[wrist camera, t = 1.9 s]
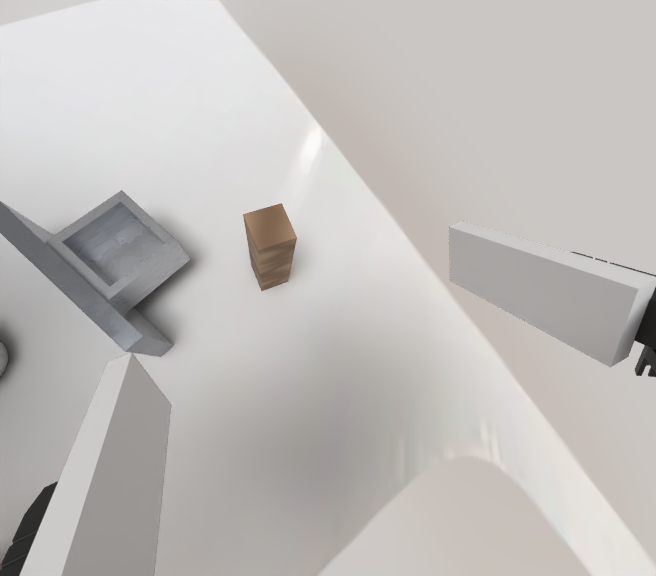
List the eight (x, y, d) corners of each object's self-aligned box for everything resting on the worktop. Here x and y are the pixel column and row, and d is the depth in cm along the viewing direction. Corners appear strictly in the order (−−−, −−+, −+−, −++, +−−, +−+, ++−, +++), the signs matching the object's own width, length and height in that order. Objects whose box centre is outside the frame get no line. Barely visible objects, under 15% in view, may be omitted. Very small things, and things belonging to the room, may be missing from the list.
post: (261, 291, 43) (257, 250, 28) (251, 266, 43) (243, 214, 29) (287, 281, 44) (296, 237, 29) (277, 257, 44) (281, 203, 30)
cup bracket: (50, 252, 39) (-21, 213, 29) (123, 201, 42) (81, 152, 33) (160, 356, 38) (125, 351, 28) (226, 295, 41) (213, 273, 32)
